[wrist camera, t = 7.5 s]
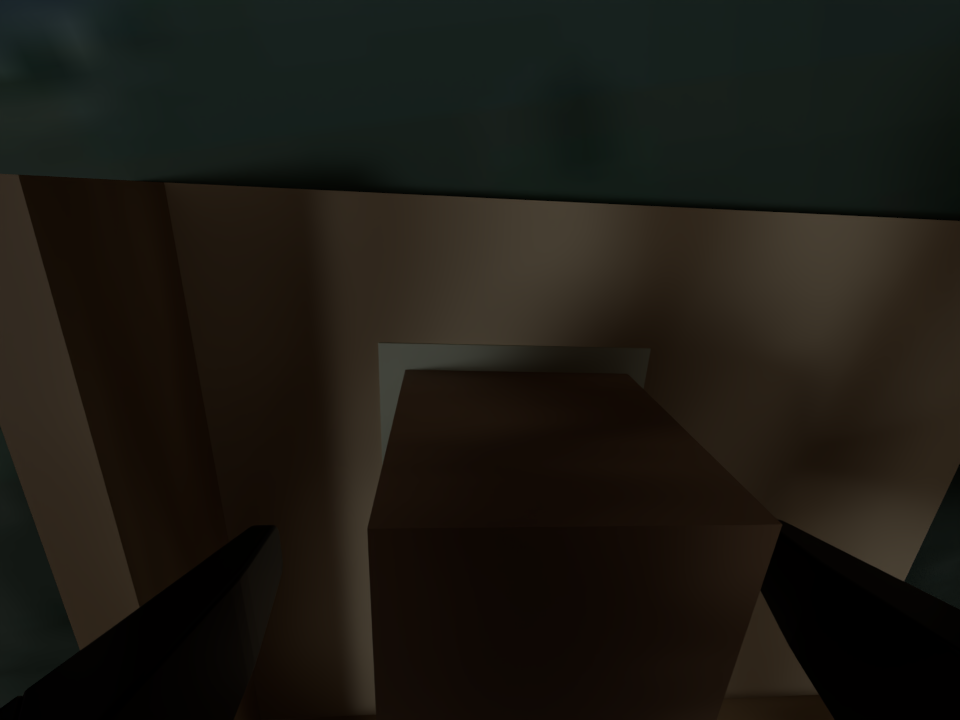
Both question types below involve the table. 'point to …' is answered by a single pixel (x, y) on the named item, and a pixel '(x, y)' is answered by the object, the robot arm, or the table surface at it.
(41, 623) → the table surface
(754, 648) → the board
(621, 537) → the walnut block
